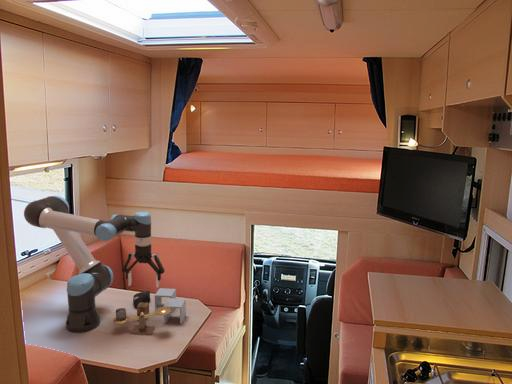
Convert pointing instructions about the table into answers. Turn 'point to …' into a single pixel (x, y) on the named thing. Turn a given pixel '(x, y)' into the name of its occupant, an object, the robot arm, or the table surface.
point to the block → (143, 308)
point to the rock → (141, 298)
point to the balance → (140, 320)
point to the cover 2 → (176, 304)
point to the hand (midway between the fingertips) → (143, 285)
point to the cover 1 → (164, 293)
